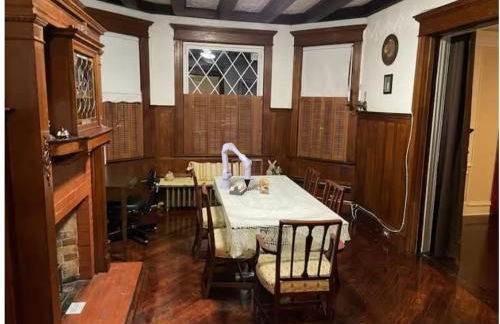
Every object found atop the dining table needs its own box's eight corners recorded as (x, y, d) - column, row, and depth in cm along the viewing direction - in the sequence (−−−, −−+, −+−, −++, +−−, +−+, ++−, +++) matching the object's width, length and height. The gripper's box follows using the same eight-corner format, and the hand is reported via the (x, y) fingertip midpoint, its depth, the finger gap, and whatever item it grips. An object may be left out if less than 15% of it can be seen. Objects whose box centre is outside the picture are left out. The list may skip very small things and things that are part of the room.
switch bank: (229, 194, 335) (229, 191, 334) (235, 189, 355) (235, 186, 354) (241, 195, 332) (241, 192, 332) (246, 190, 352) (247, 187, 352)
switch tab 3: (240, 187, 348) (240, 184, 348) (240, 186, 351) (240, 183, 351) (243, 187, 348) (243, 184, 347) (243, 187, 350) (244, 184, 350)
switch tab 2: (238, 189, 341) (238, 186, 341) (238, 188, 344) (238, 185, 344) (241, 189, 341) (241, 186, 340) (242, 188, 344) (242, 185, 343)
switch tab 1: (230, 190, 336) (230, 187, 336) (231, 189, 339) (231, 186, 338) (233, 190, 335) (233, 187, 335) (234, 189, 338) (234, 186, 338)
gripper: (239, 173, 344) (238, 187, 346) (254, 174, 340) (253, 188, 342) (241, 171, 350) (240, 185, 353) (256, 173, 347) (255, 187, 349)
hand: (247, 187), depth 348 cm, fingers closed
